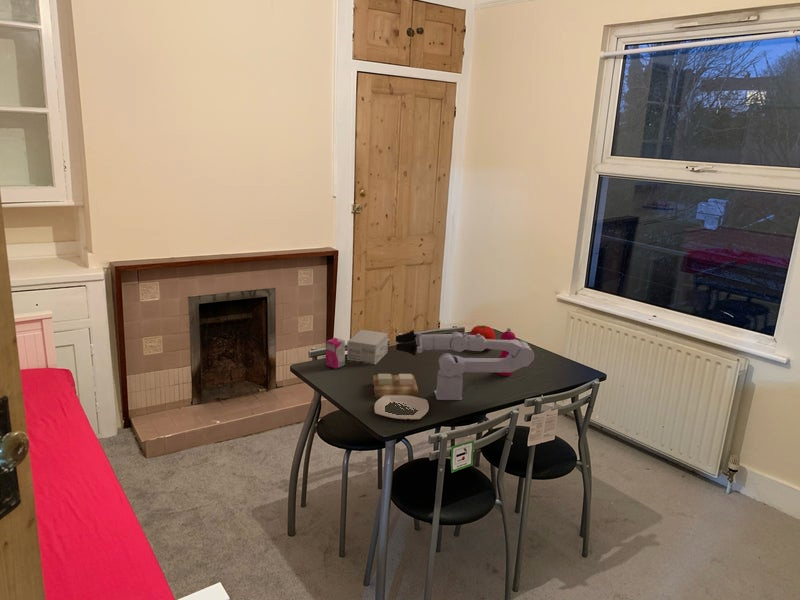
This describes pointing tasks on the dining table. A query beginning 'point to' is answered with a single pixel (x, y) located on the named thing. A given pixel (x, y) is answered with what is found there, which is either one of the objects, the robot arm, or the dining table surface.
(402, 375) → the white tile
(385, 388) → the oak board
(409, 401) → the pale beige plate
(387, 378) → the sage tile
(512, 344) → the robot arm
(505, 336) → the pepper mill
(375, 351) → the supplement box
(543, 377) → the dining table surface
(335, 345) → the supplement box
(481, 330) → the tomato
